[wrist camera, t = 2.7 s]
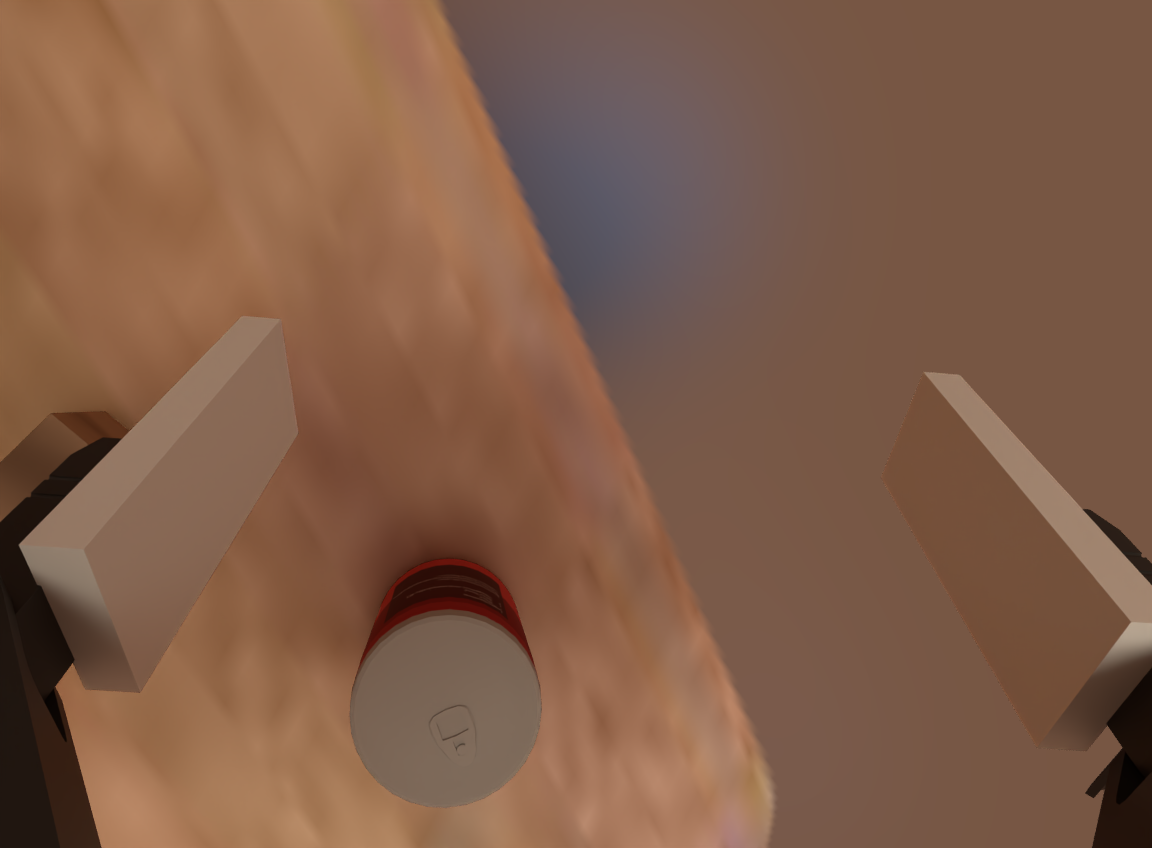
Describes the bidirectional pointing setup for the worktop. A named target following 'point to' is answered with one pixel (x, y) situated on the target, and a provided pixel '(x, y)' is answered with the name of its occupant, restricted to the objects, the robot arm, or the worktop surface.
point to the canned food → (445, 687)
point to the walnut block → (50, 452)
